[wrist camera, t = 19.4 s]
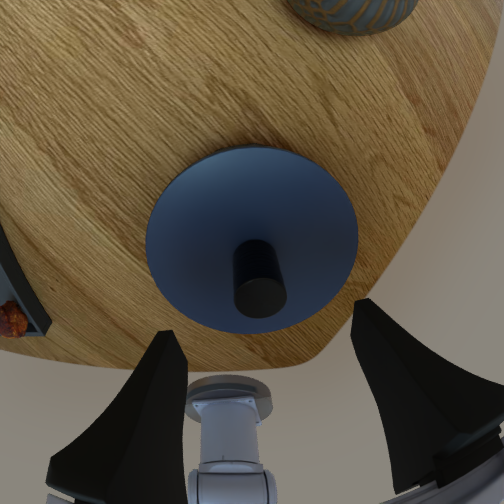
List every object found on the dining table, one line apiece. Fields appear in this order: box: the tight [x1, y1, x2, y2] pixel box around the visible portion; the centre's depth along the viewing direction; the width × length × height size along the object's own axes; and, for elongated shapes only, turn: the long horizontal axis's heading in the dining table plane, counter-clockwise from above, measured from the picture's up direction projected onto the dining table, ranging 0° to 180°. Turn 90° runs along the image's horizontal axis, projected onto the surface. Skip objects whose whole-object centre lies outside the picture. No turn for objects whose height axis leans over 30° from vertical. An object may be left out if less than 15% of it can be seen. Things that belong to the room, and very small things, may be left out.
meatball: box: [0, 300, 28, 339], centre depth 19 cm, size 4×4×4 cm
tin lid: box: [146, 145, 358, 334], centre depth 15 cm, size 12×12×5 cm
